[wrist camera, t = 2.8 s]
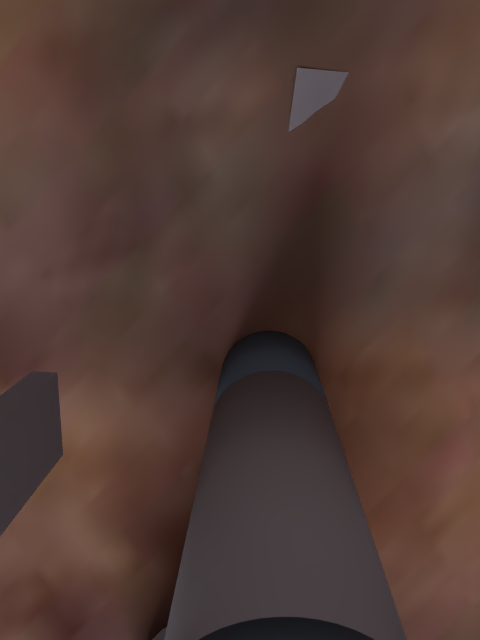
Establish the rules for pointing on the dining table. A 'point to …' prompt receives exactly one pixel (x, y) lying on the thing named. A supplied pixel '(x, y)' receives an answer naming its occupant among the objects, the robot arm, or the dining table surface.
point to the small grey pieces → (313, 92)
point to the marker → (277, 514)
